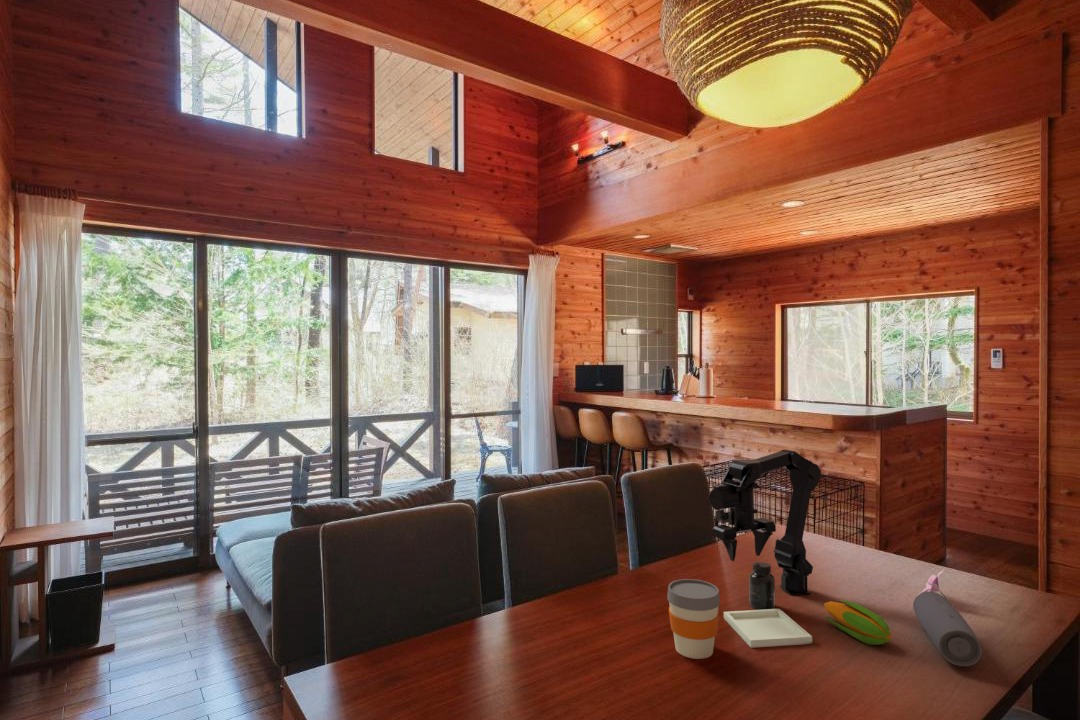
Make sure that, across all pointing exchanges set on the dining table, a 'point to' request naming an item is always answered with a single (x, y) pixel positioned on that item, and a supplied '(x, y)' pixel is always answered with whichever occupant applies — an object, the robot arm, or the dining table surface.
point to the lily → (933, 584)
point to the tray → (767, 628)
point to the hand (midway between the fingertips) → (745, 558)
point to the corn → (859, 622)
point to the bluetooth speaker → (947, 629)
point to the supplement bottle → (761, 587)
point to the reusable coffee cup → (693, 616)
